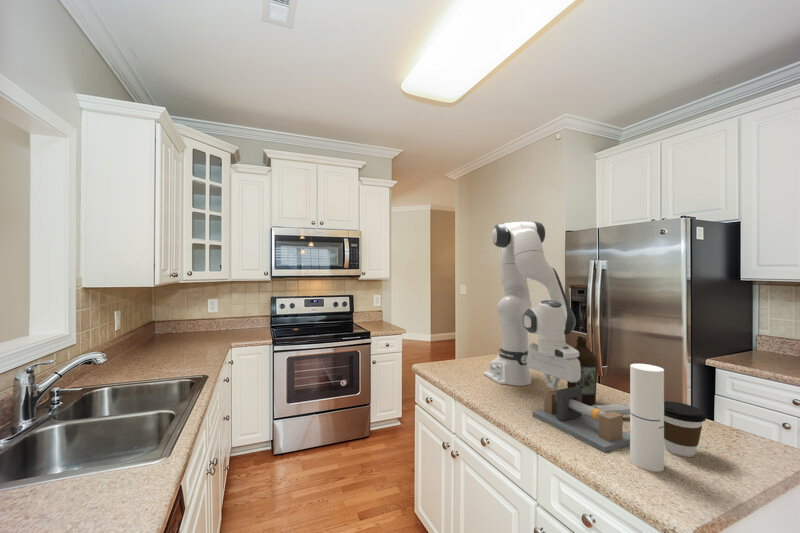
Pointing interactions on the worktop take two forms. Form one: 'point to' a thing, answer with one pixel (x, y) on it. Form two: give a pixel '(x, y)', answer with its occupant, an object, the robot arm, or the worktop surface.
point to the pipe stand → (586, 424)
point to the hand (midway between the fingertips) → (552, 387)
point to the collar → (562, 402)
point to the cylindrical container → (647, 416)
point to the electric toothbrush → (614, 408)
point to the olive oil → (586, 372)
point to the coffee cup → (682, 428)
